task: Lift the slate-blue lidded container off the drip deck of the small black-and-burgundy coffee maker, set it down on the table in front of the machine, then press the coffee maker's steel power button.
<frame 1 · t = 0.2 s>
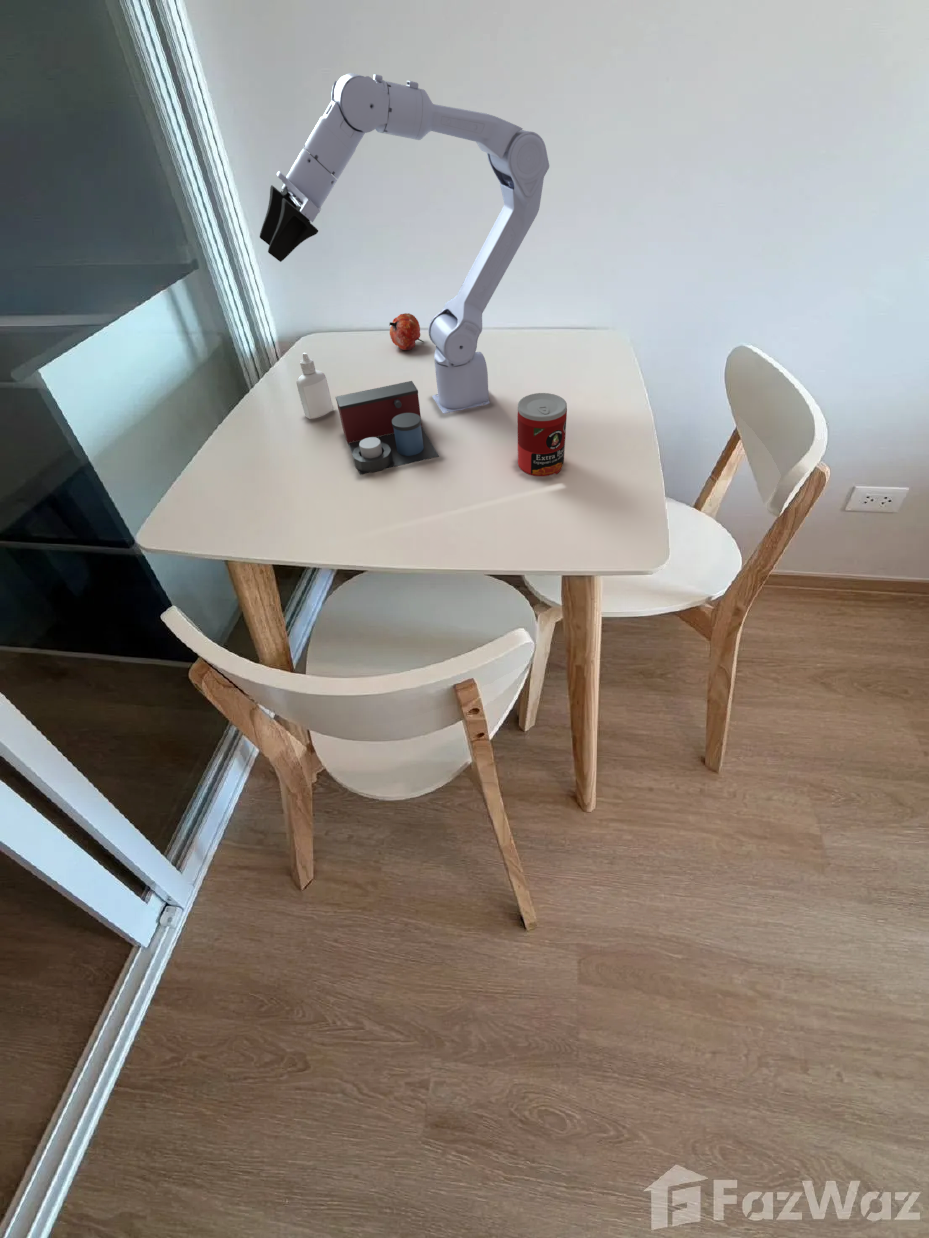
hand: (269, 249, 93), 31 cm above the table, tool tilted 45°, fingers open, 7 cm apart
canned food: (540, 467, 104), on the table
eye dropper bottle: (320, 415, 121), on the table
pomegranate: (408, 347, 141), on the table
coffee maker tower: (383, 432, 115), on the table
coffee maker: (393, 452, 110), on the table
power button: (370, 448, 105), point 3 cm above the table, slide at 0.1 cm
container: (410, 448, 109), point 1 cm above the table, touching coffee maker
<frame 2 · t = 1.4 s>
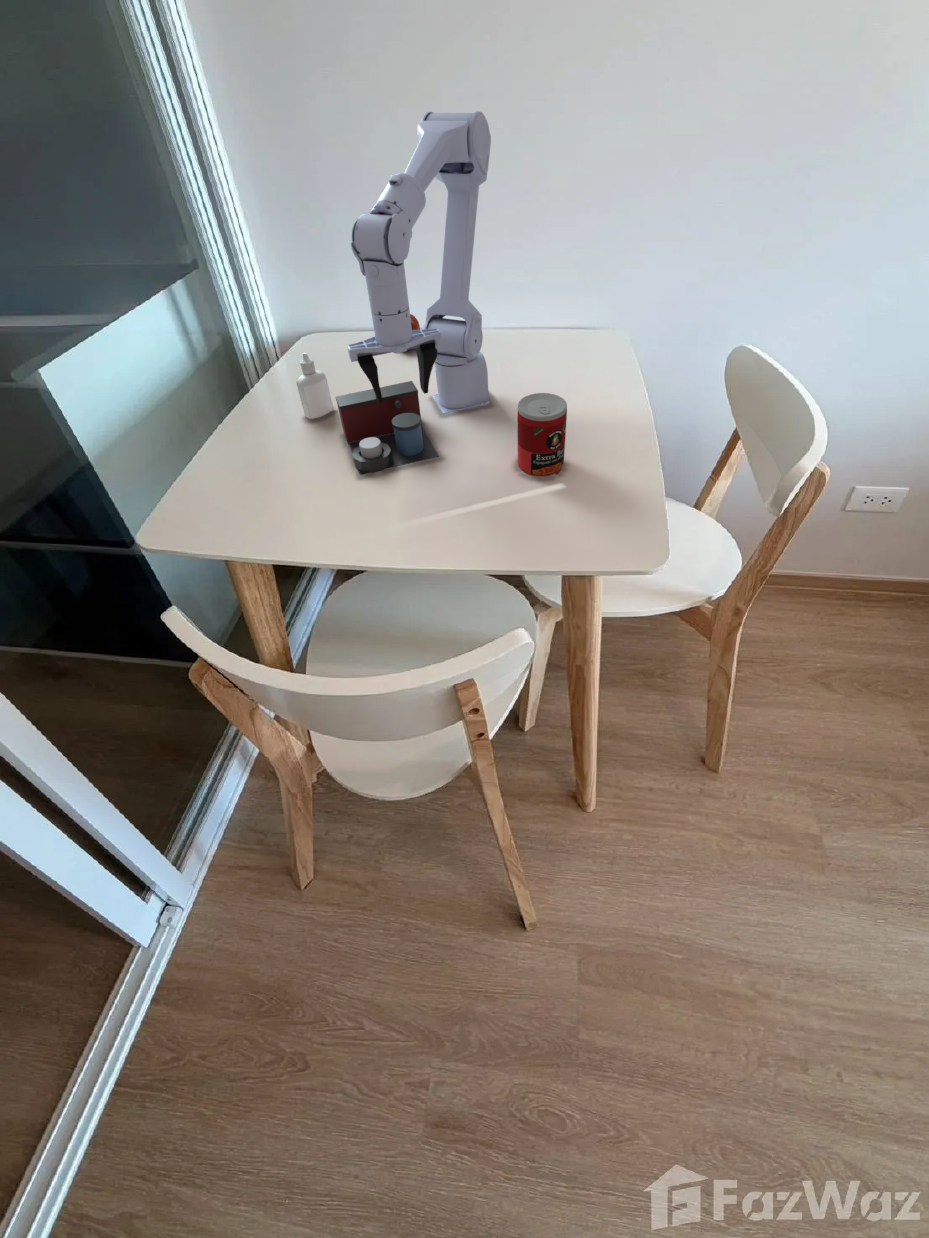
hand: (402, 395, 102), 10 cm above the table, tool pointing down, fingers open, 7 cm apart
nothing on the table moved.
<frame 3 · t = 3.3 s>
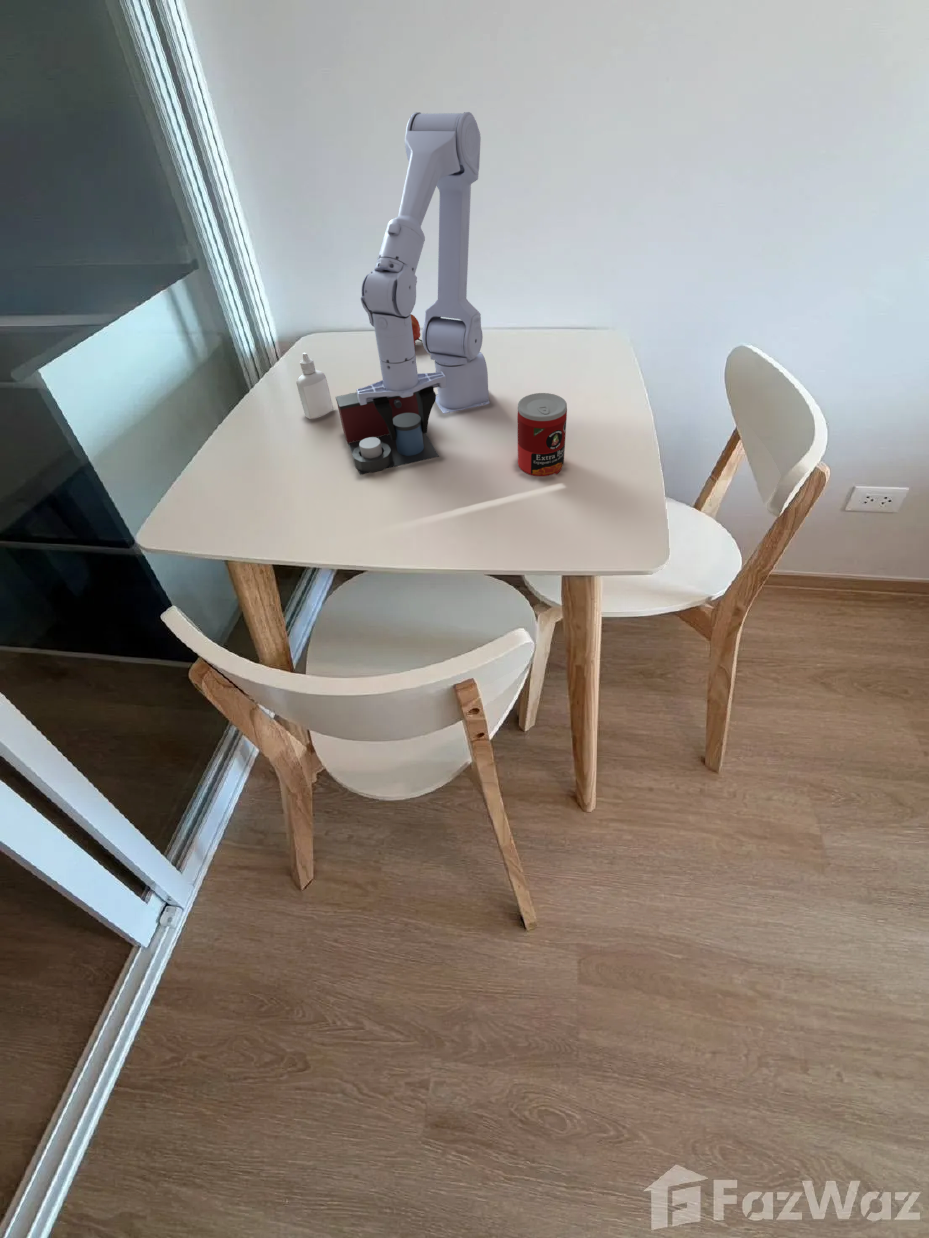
hand: (408, 434, 107), 3 cm above the table, tool pointing down, fingers closed on container, 5 cm apart
container: (410, 448, 109), point 1 cm above the table, touching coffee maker, gripper
everything else where it was.
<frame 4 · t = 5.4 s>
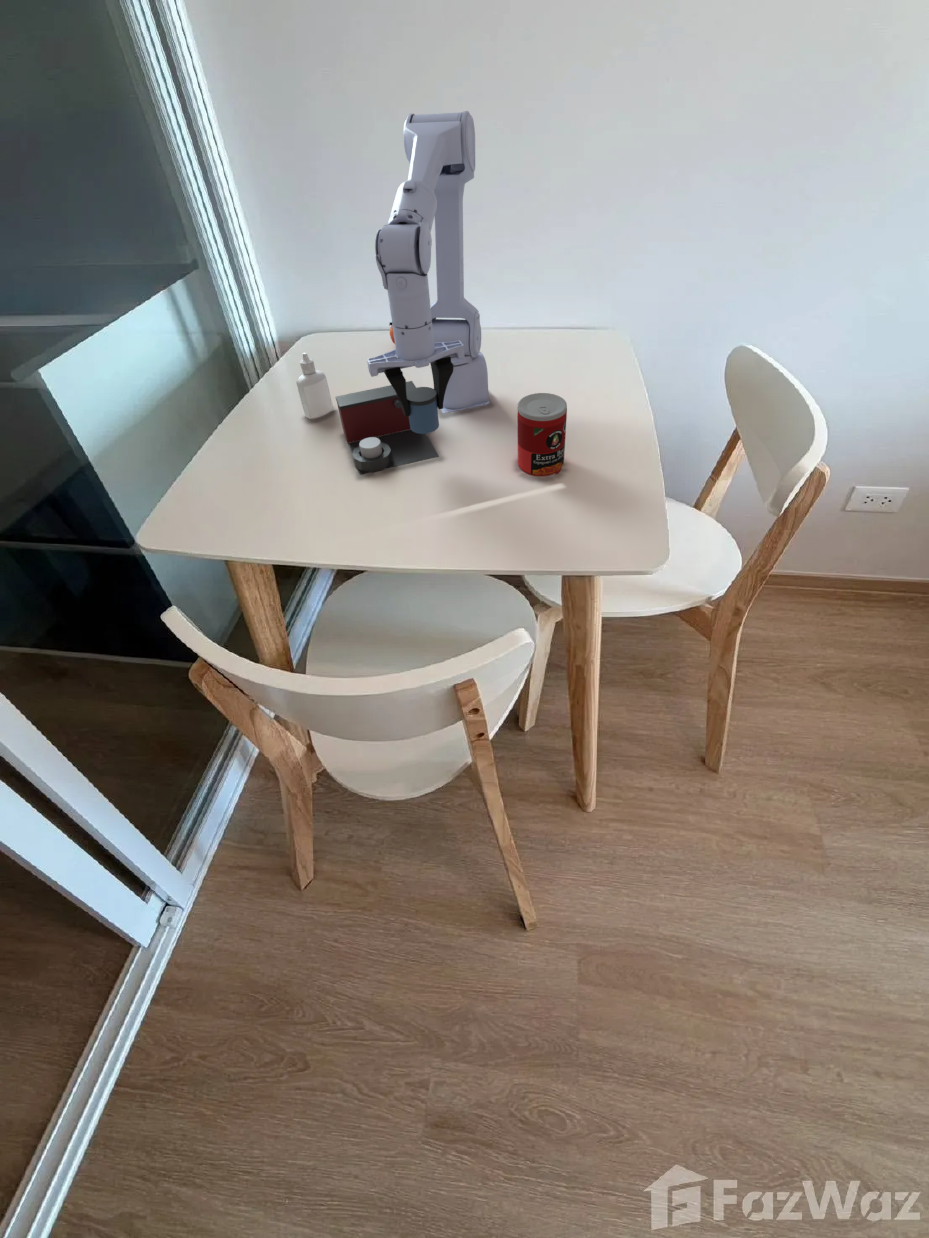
hand: (422, 410, 98), 10 cm above the table, tool pointing down, fingers closed on container, 5 cm apart
container: (424, 426, 101), point 7 cm above the table, touching gripper
everything else where it was.
when the fingers open (2 cm above the table, at t = 7.9 s): container stays where it is, on the table.
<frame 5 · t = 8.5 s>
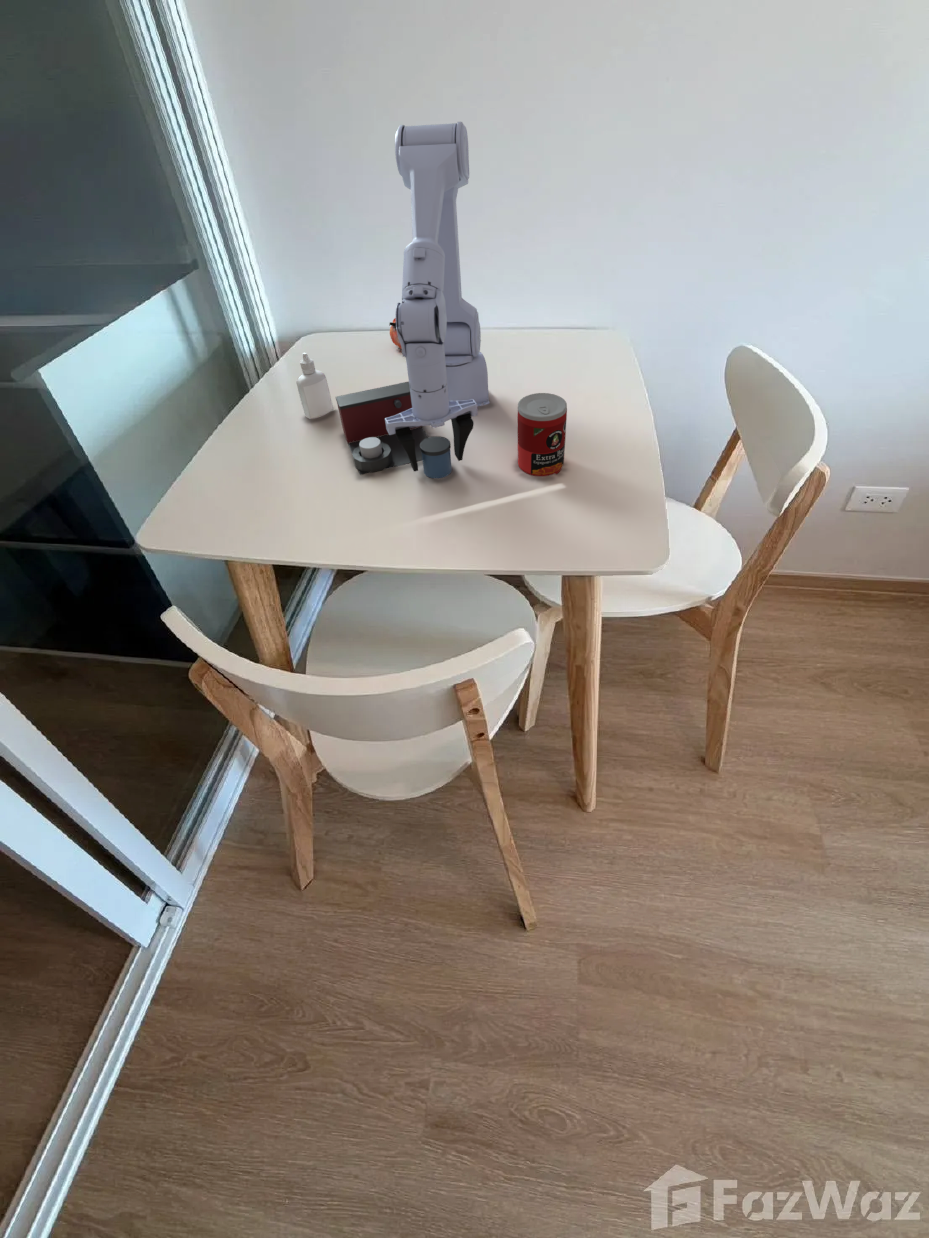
hand: (436, 462, 103), 2 cm above the table, tool pointing down, fingers open, 7 cm apart
container: (438, 473, 104), on the table
everything else where it was.
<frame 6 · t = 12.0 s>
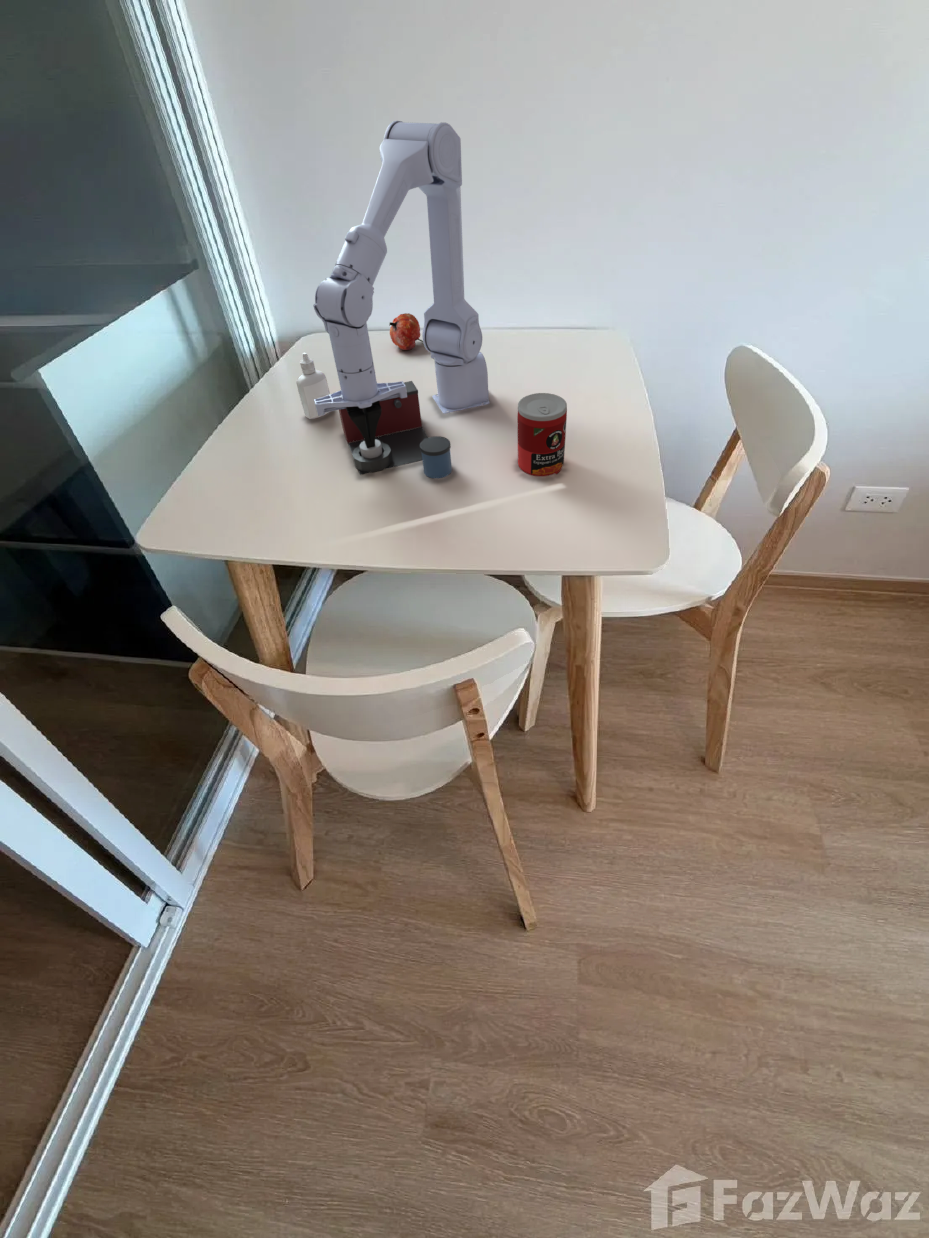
hand: (370, 444, 104), 4 cm above the table, tool pointing down, fingers closed, pressing on power button
power button: (371, 449, 105), point 3 cm above the table, slide at -0.2 cm, touching gripper
everything else where it was.
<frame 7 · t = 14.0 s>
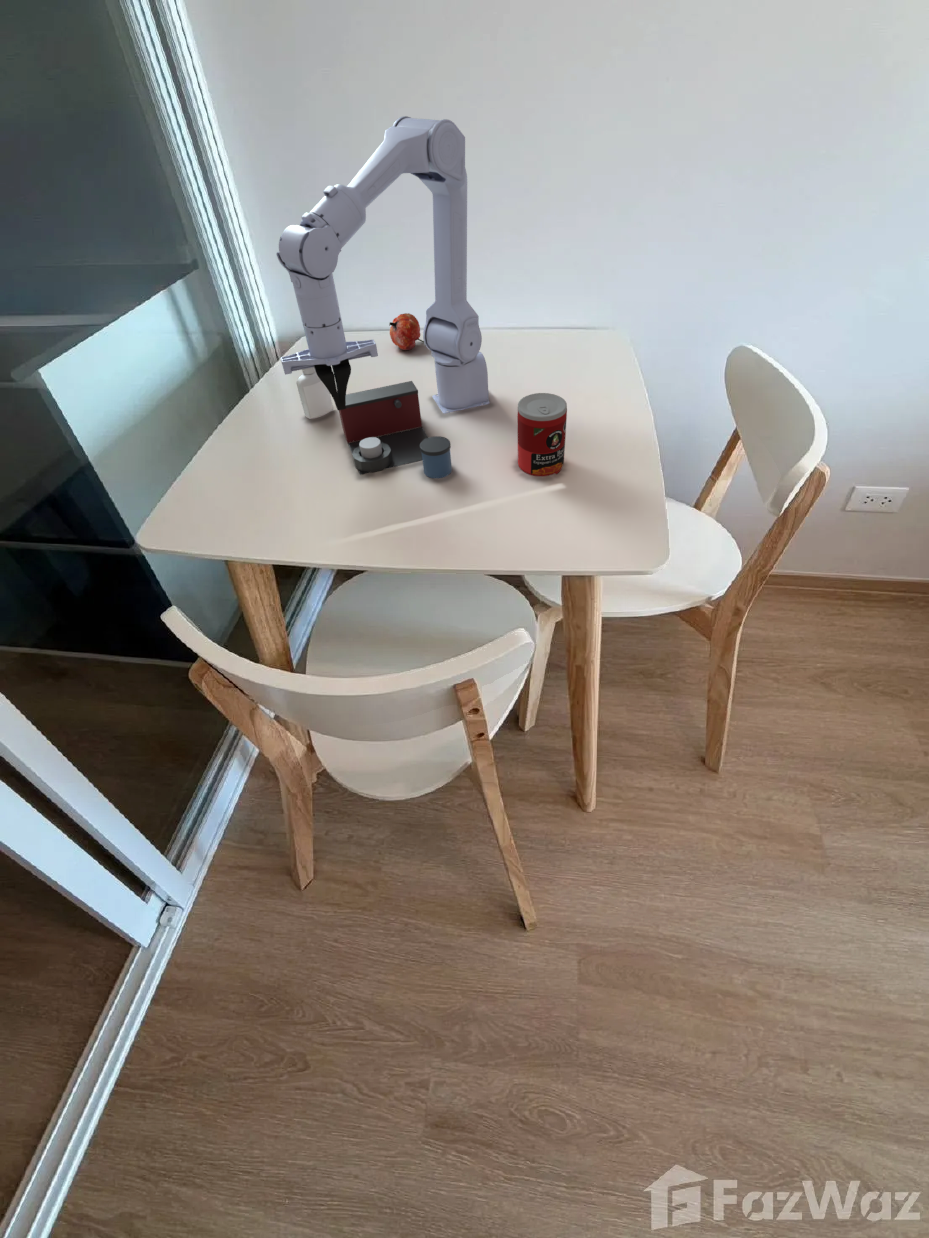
hand: (340, 407, 101), 10 cm above the table, tool pointing down, fingers closed
power button: (370, 448, 105), point 3 cm above the table, slide at 0.1 cm
everything else where it was.
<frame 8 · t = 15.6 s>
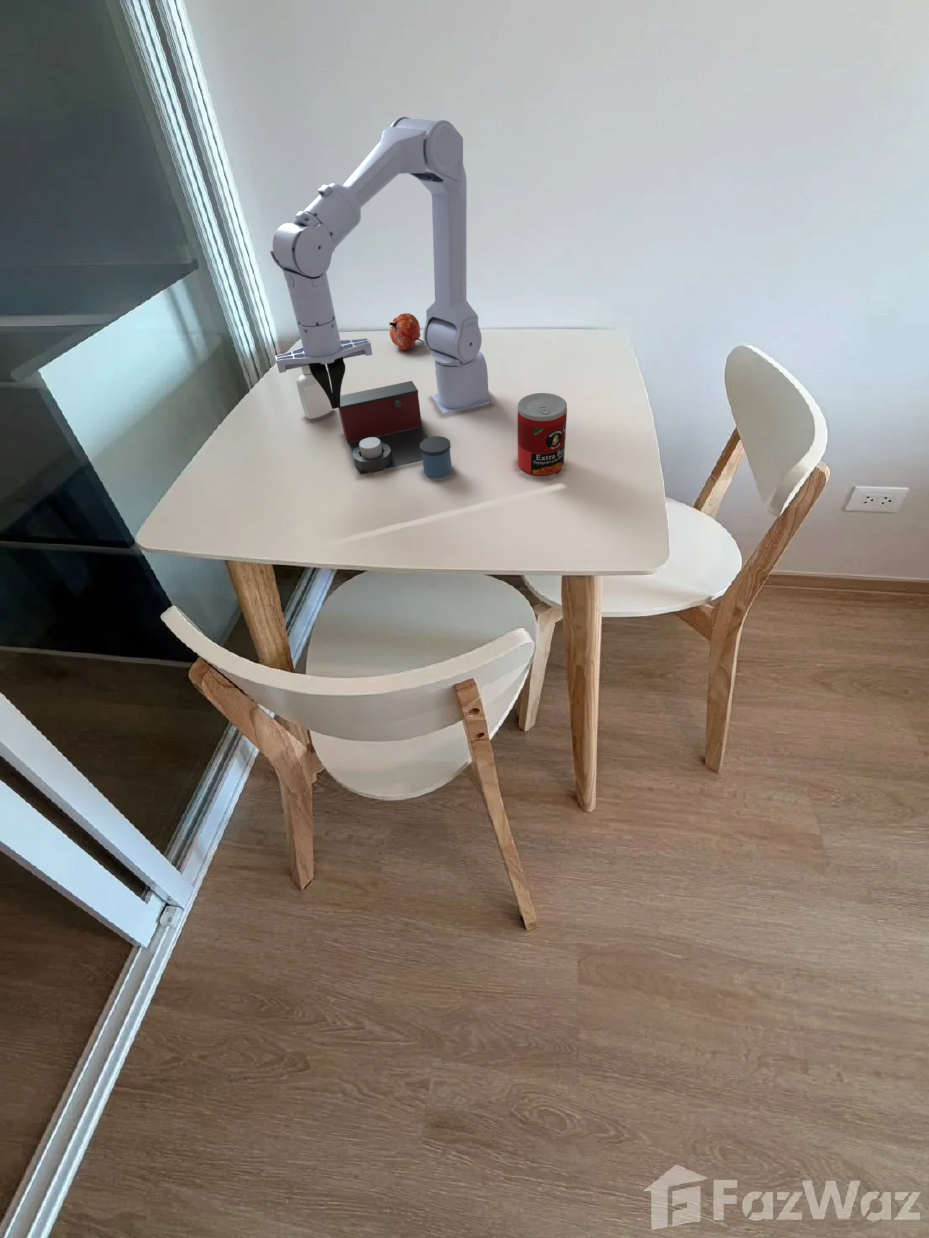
hand: (335, 405, 101), 10 cm above the table, tool pointing down, fingers closed
nothing on the table moved.
at the end: container inside the target area (0.2 cm from its centre), on the table; power button pushed in 1.5 cm at the most during the clip, back to where it started at the end; power button slide at 0.1 cm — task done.
